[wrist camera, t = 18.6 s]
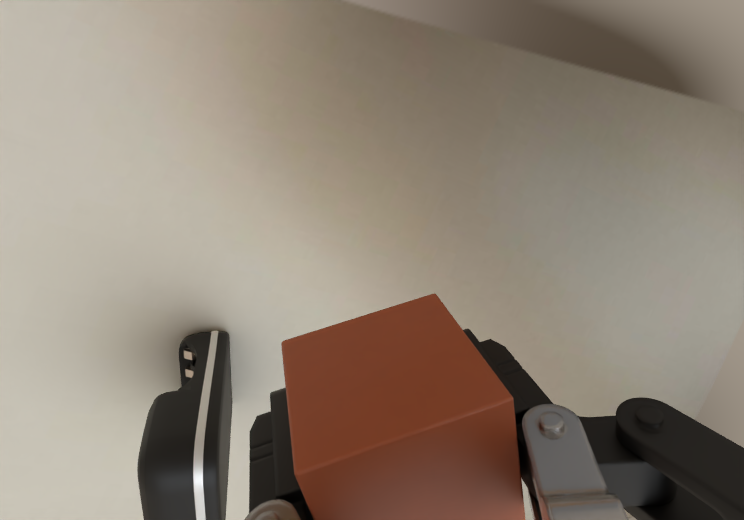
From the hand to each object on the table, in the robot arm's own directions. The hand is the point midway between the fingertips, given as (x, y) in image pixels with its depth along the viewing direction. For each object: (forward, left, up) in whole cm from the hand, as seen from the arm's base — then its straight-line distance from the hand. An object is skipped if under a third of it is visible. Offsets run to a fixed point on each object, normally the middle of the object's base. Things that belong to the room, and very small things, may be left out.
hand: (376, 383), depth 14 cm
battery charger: (+9, -10, -17) cm, 22 cm away
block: (0, 0, 0) cm, 0 cm away
